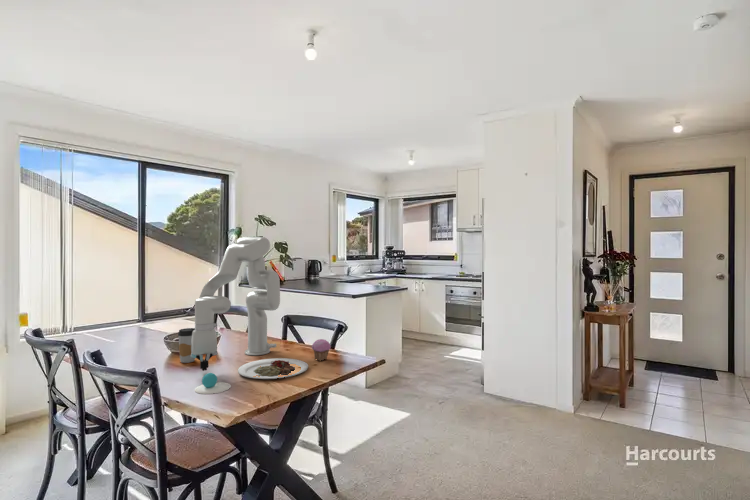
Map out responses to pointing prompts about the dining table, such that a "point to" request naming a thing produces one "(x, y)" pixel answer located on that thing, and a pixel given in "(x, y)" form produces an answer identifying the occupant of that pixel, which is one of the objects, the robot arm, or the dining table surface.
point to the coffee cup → (185, 345)
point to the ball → (209, 380)
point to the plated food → (271, 368)
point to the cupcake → (321, 349)
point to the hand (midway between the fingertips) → (204, 369)
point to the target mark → (213, 388)
